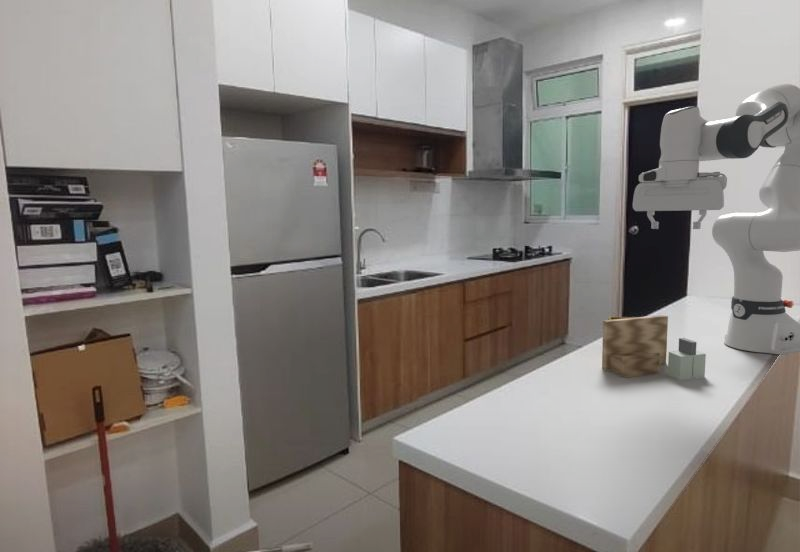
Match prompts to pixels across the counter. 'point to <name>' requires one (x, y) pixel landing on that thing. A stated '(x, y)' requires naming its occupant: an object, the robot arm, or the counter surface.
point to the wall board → (634, 345)
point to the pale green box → (686, 361)
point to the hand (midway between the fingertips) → (675, 228)
